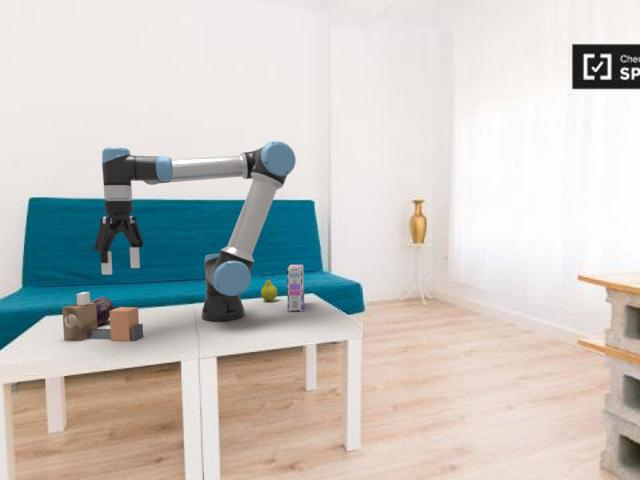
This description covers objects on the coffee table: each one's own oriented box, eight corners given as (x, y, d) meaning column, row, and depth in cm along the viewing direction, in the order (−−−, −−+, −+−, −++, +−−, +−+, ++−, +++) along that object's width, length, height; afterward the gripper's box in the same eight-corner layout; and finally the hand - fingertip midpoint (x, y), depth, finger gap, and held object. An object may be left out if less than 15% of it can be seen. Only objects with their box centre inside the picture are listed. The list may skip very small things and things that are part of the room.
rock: (79, 332, 139) (112, 329, 141) (76, 308, 137) (109, 305, 139) (89, 318, 150) (120, 315, 152) (86, 296, 148) (117, 293, 150)
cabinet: (97, 333, 132) (96, 302, 131) (80, 341, 124) (78, 307, 123) (80, 333, 133) (79, 301, 132) (62, 340, 125) (60, 307, 124)
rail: (143, 336, 128) (142, 323, 128) (134, 340, 124) (134, 327, 123) (92, 334, 131) (91, 322, 130) (82, 339, 126) (81, 326, 126)
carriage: (139, 335, 129) (138, 307, 128) (129, 341, 123) (127, 311, 123) (121, 335, 130) (120, 307, 129) (111, 340, 124) (109, 311, 124)
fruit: (279, 299, 179) (278, 271, 179) (275, 302, 173) (275, 274, 172) (263, 299, 180) (262, 272, 179) (259, 302, 173) (258, 274, 172)
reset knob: (90, 303, 129) (89, 292, 129) (83, 305, 126) (82, 294, 126) (84, 303, 130) (83, 292, 129) (77, 305, 127) (76, 294, 126)
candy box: (303, 311, 156) (302, 268, 155) (287, 312, 156) (286, 268, 155) (304, 303, 170) (303, 263, 169) (290, 304, 170) (289, 264, 169)
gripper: (131, 201, 137) (135, 265, 138) (76, 199, 112) (81, 277, 113) (153, 201, 135) (155, 265, 137) (101, 198, 111) (105, 277, 112)
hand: (122, 271), depth 125 cm, fingers open, 13 cm apart
